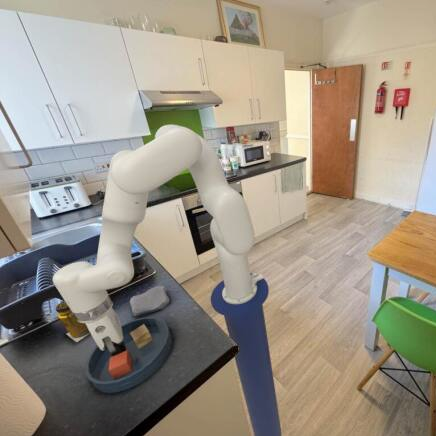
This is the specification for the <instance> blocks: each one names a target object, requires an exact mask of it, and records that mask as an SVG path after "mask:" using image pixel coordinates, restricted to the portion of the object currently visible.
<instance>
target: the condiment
mask: <svg viewBox="0 0 436 436" xmlns="http://www.w3.org/2000/svg"><path fill="white" fill-rule="evenodd" d="M55 311H56V313H57V317H58V319H59V320H60V322H61V324H63V326H64V327H65V329H66V330H67V333H65V334H66V335H67V336H68V337H69V338H70V339H71V340H73V341H74V342H75V343H78V342H79V341H81V340H82V339H84V338H86V337H87V336H89V335H91V333H90V331H89V330H88V327H87V326H86V324H85V323H80V322H78V320H77V319H76V317H75V316H74V314H73V313H72V311H71V309H70V308H69V306H68V305H67V303H66V302H65V300H64V299H63V300H62V301H61V302H59V303H58V304H57V305H56V307H55Z"/></svg>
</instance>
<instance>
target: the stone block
mask: <svg viewBox="0 0 436 436" xmlns="http://www.w3.org/2000/svg"><path fill="white" fill-rule="evenodd" d="M129 304H130V307H131V314H132V315H133V316H134V317H139V316H142V315H146V314H150V313H154V312H156V311H159V310H163V309H164V308H165V307H166V306H168V305H169V304H170V298H169V296H168V294H167V291H166V288H165V286H164V285H156V286H154V287H152V288H150V289H148V290H146V291H145V292H143V293H141V294H138V295H137V294H136V295H134V296H132V297H131V298H130V300H129Z"/></svg>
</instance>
